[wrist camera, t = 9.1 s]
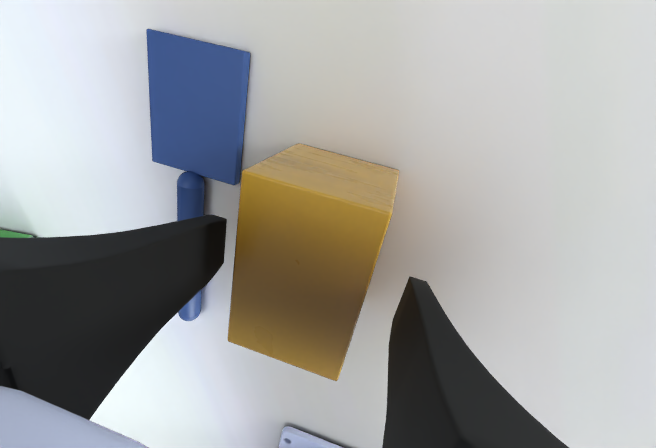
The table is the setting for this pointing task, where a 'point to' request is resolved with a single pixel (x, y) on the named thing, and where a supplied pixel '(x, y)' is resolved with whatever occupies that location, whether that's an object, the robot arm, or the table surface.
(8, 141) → the table surface
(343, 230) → the block
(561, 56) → the table surface
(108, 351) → the robot arm
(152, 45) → the spatula
